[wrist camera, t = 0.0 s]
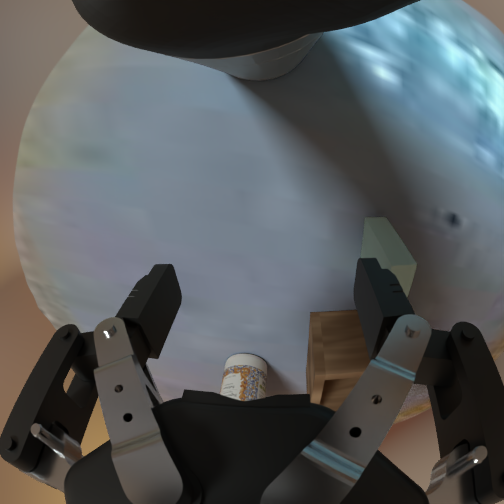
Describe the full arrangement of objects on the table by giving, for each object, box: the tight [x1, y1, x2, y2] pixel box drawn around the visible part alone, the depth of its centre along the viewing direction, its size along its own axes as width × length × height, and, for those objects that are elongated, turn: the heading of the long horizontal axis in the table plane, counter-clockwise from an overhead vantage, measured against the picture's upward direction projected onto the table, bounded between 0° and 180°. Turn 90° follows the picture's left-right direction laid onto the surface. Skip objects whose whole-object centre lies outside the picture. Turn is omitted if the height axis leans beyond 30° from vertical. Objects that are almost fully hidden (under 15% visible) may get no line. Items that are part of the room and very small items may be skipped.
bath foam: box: [220, 353, 267, 401], centre depth 35 cm, size 7×7×20 cm
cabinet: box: [306, 310, 371, 411], centre depth 35 cm, size 14×14×10 cm
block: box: [360, 217, 417, 298], centre depth 27 cm, size 11×3×9 cm, turn 6°
